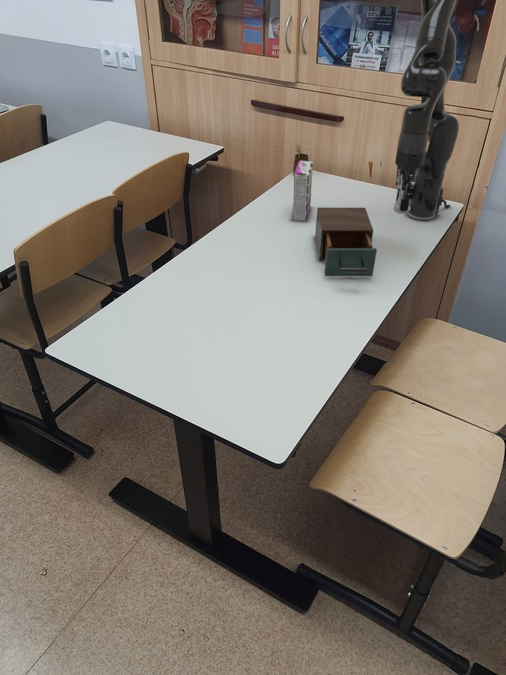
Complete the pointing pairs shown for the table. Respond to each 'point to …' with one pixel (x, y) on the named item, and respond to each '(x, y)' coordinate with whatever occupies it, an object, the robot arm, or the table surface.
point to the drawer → (348, 254)
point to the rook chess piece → (397, 204)
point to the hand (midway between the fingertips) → (401, 206)
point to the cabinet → (340, 224)
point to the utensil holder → (299, 157)
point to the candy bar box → (302, 190)
